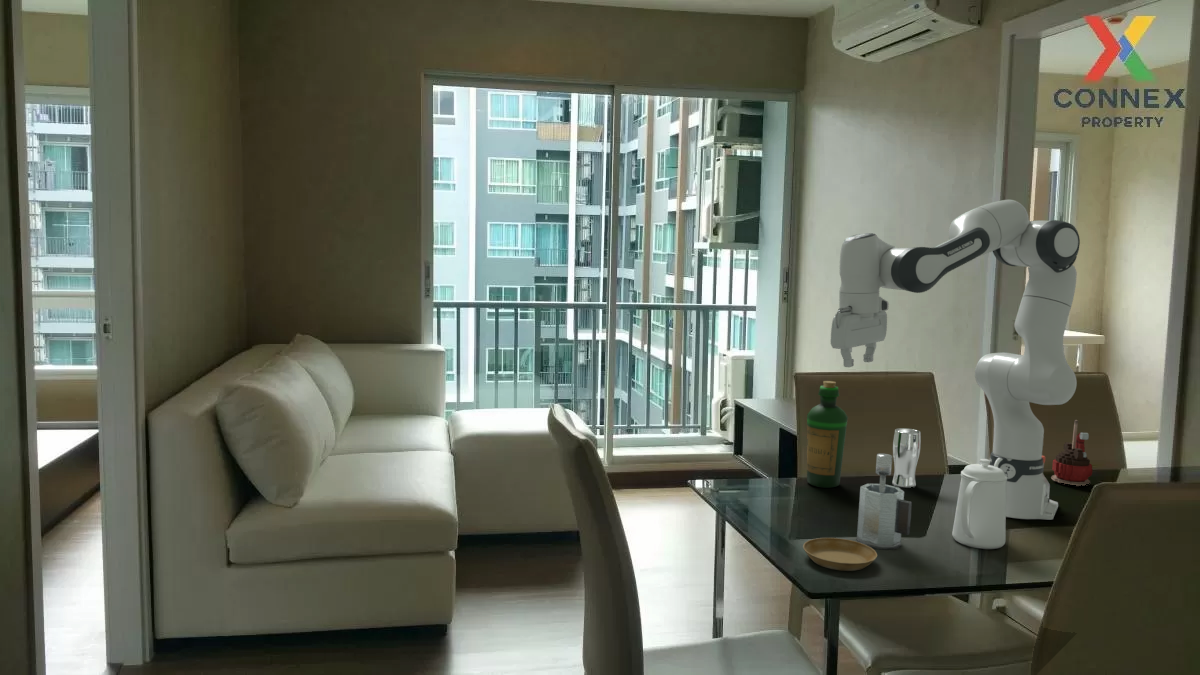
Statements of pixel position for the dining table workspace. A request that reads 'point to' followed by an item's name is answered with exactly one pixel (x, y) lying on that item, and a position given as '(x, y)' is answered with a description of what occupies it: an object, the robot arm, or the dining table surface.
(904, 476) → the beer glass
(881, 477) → the dumbbell
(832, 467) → the bottle
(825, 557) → the plant saucer
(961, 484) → the coffeepot
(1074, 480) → the cake
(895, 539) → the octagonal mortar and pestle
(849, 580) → the dining table surface
